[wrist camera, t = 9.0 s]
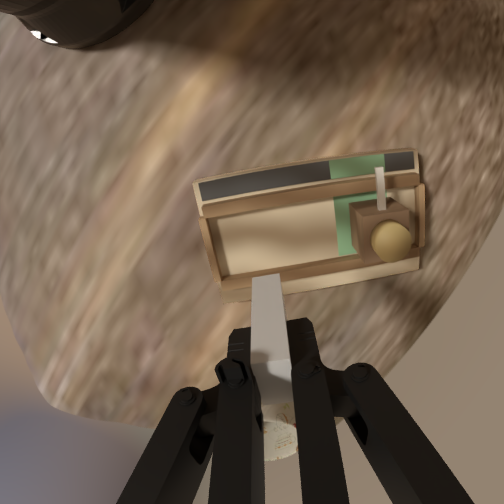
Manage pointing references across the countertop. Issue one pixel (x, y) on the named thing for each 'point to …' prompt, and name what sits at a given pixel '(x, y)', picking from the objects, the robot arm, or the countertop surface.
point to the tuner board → (303, 220)
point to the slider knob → (380, 226)
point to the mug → (279, 431)
